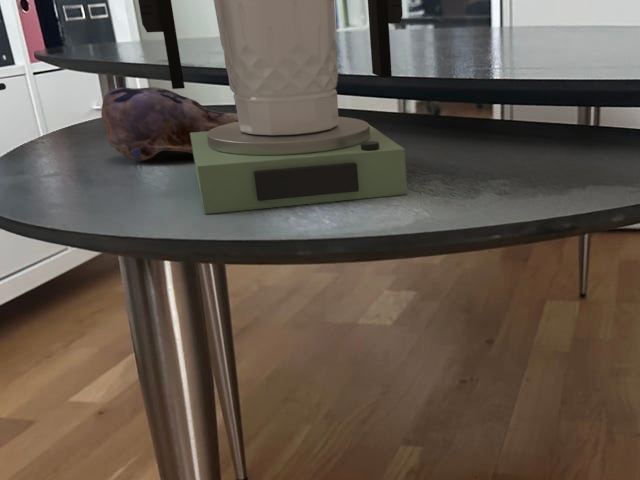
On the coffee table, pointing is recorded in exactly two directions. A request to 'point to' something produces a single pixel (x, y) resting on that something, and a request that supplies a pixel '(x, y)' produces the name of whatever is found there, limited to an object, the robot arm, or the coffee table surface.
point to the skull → (155, 121)
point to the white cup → (281, 64)
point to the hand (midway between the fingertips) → (283, 81)
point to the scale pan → (288, 139)
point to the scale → (298, 175)
